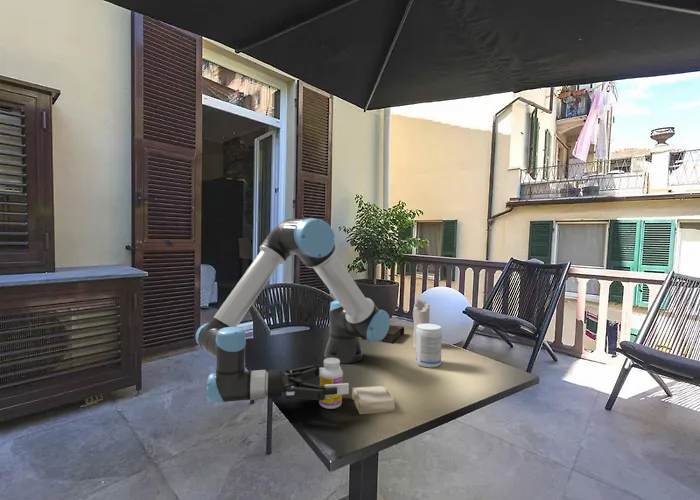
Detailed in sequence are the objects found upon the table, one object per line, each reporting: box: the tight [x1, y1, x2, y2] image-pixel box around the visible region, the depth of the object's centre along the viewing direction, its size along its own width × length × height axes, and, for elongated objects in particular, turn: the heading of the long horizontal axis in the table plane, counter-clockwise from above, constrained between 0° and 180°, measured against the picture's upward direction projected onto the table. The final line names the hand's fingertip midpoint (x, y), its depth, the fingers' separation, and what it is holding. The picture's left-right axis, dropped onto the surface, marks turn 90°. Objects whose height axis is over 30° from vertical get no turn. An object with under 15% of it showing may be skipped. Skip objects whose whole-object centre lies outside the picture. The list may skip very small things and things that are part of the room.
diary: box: [379, 324, 405, 345], centre depth 172 cm, size 19×25×5 cm
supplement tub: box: [415, 323, 443, 369], centre depth 135 cm, size 10×10×15 cm
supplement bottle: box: [318, 358, 344, 410], centre depth 101 cm, size 7×7×13 cm
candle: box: [412, 299, 430, 350], centre depth 155 cm, size 7×14×20 cm, turn 173°
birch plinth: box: [351, 385, 396, 415], centre depth 101 cm, size 10×10×3 cm
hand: (344, 379), depth 101 cm, fingers open, 11 cm apart
